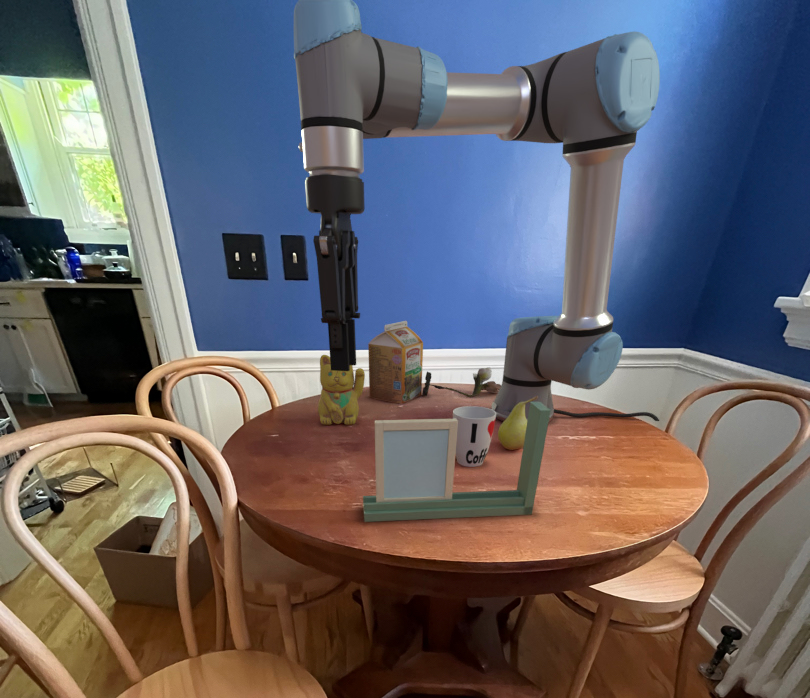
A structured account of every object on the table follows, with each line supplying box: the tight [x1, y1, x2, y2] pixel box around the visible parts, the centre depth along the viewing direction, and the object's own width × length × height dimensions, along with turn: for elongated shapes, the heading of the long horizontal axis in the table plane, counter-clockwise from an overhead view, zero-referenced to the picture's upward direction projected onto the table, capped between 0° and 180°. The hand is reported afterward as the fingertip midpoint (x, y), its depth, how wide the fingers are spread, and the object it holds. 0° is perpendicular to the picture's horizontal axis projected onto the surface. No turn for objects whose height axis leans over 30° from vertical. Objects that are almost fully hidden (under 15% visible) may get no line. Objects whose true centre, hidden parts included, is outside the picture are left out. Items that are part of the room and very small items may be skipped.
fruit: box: [497, 396, 538, 451], centre depth 98 cm, size 7×8×12 cm
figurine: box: [317, 354, 366, 426], centre depth 112 cm, size 11×9×15 cm
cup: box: [452, 405, 496, 468], centre depth 92 cm, size 8×8×10 cm
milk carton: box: [367, 320, 424, 405], centre depth 129 cm, size 11×11×19 cm
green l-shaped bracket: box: [362, 402, 551, 523], centre depth 73 cm, size 27×4×17 cm, turn 97°
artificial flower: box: [421, 367, 502, 398], centre depth 135 cm, size 9×22×10 cm, turn 90°
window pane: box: [374, 418, 458, 502], centre depth 72 cm, size 12×1×13 cm, turn 97°
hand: (343, 367), depth 73 cm, fingers open, 3 cm apart
